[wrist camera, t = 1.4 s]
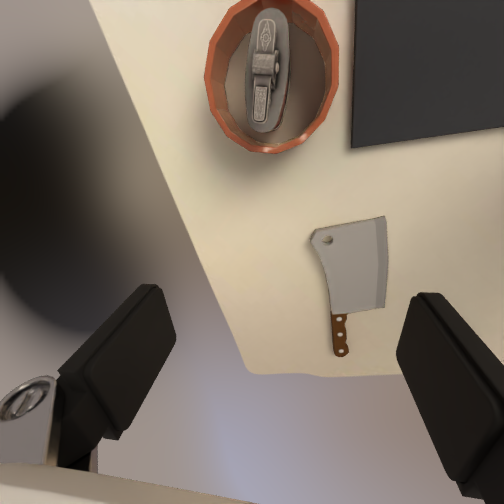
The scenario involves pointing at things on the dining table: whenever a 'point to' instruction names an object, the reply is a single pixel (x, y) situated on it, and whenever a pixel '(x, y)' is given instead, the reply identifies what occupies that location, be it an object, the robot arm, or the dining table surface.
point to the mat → (426, 69)
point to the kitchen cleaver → (353, 271)
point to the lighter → (268, 71)
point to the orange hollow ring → (229, 37)
